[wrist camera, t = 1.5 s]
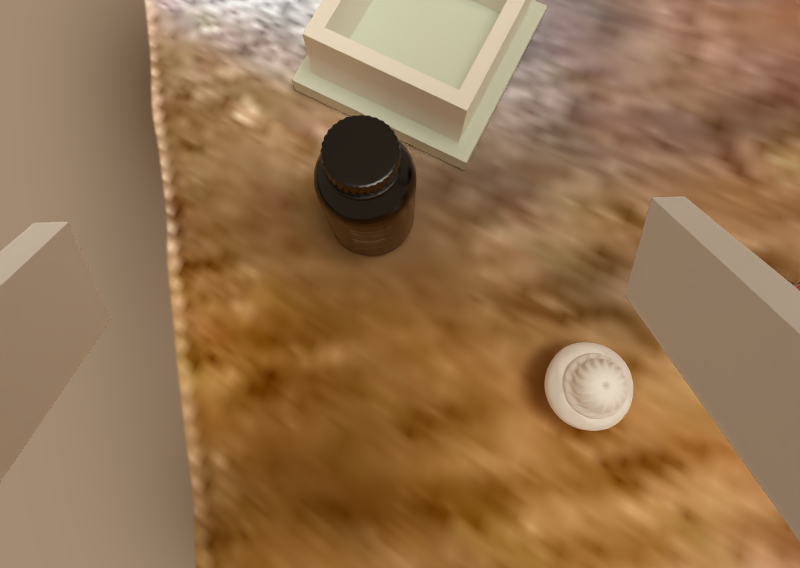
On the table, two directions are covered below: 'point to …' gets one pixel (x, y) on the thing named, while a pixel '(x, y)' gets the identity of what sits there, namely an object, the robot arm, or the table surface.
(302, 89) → the well
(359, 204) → the supplement bottle
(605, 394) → the white ribbed round lump
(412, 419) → the table surface
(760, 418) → the robot arm
